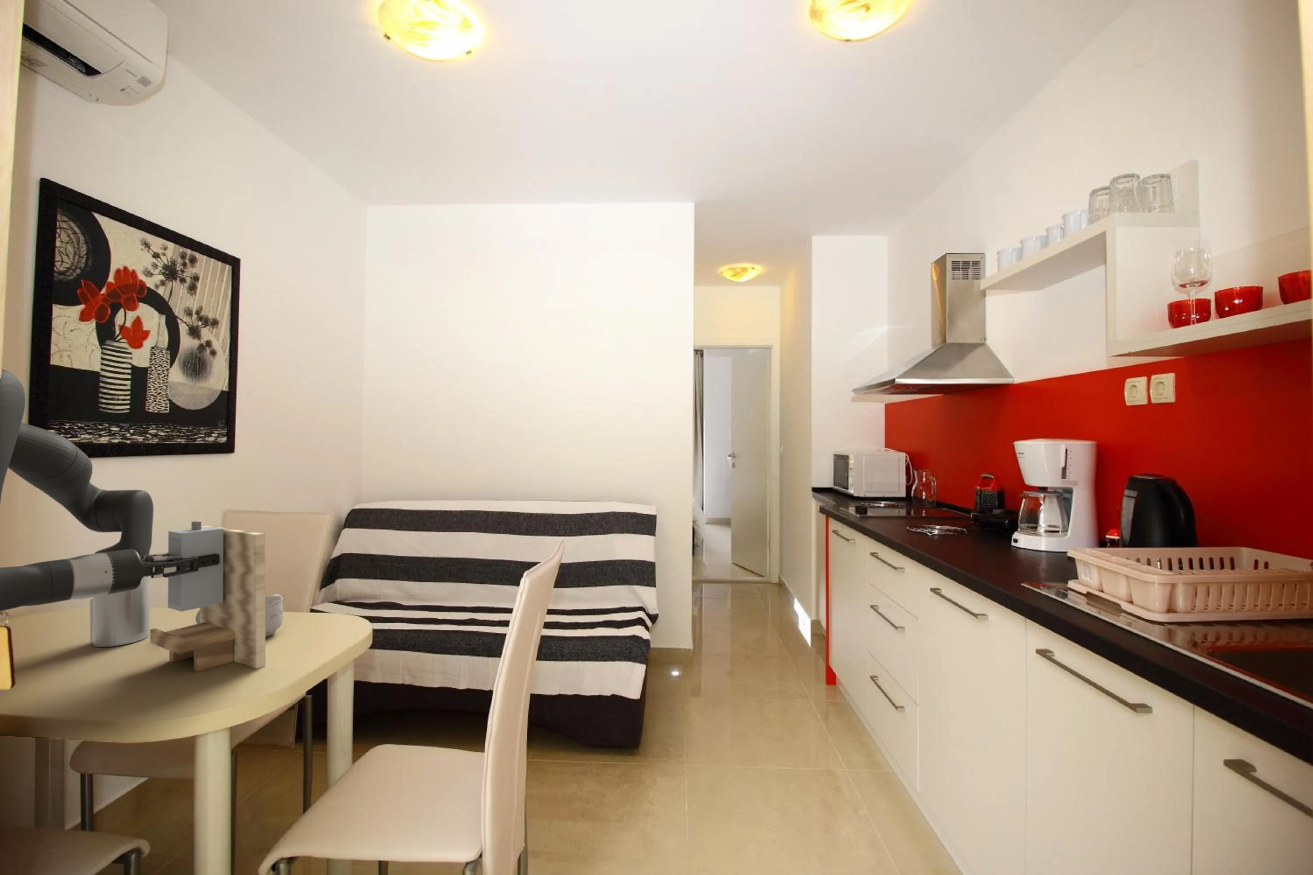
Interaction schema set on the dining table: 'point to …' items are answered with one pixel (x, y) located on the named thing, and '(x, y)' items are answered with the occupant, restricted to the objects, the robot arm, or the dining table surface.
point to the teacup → (273, 613)
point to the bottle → (200, 584)
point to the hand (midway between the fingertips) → (210, 557)
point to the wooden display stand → (227, 611)
